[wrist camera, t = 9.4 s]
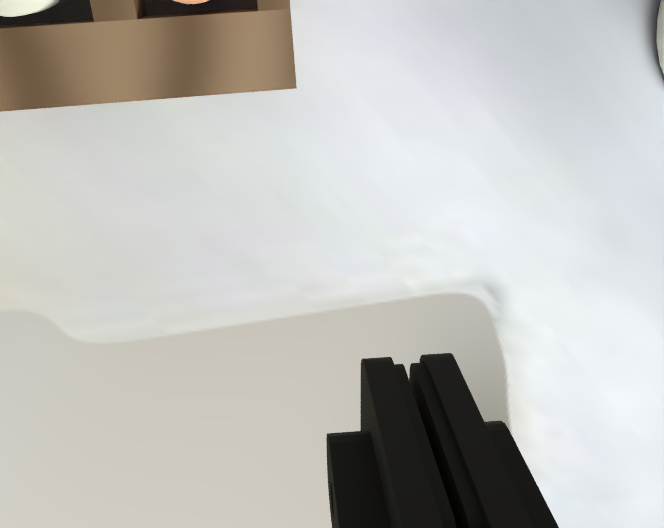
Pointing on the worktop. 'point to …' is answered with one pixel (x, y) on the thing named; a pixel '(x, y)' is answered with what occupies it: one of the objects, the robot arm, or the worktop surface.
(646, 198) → the worktop surface
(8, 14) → the white dome
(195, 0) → the button terracotta
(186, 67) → the button panel
